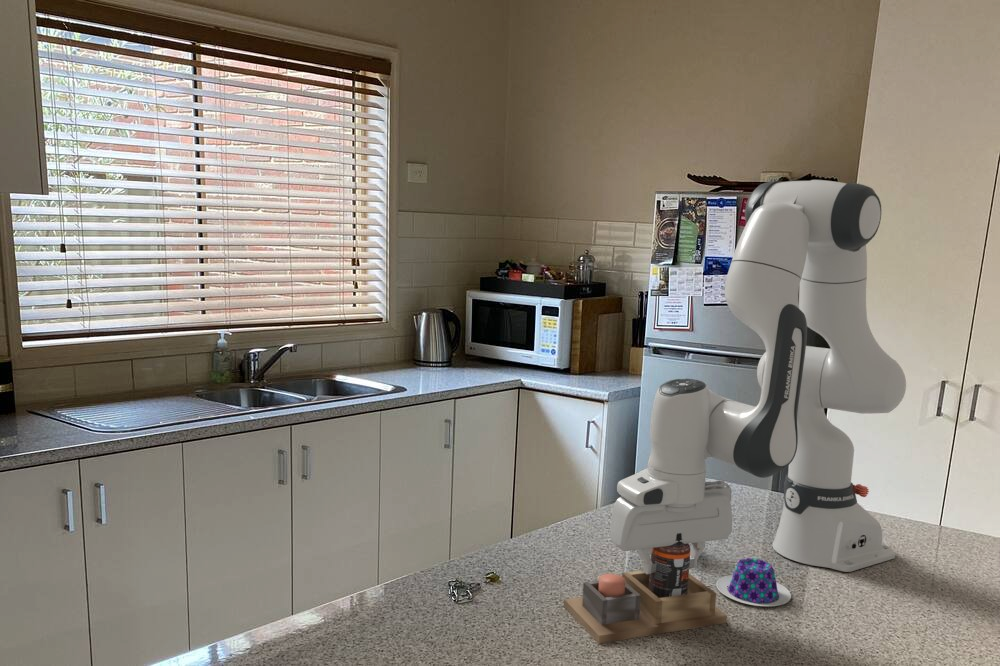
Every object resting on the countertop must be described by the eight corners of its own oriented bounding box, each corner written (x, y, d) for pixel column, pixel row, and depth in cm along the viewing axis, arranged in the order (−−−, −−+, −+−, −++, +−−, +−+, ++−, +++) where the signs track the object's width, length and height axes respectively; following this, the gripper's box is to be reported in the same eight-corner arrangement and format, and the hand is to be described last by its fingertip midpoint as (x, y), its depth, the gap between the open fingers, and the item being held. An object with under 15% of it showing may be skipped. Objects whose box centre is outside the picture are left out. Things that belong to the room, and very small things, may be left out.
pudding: (787, 617, 131) (789, 585, 130) (710, 600, 136) (712, 569, 135) (793, 587, 142) (796, 558, 141) (722, 573, 146) (724, 544, 146)
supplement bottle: (687, 608, 127) (692, 537, 125) (648, 603, 128) (652, 533, 126) (686, 592, 132) (691, 523, 131) (648, 587, 133) (653, 520, 132)
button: (616, 592, 129) (617, 572, 129) (629, 604, 125) (630, 583, 125) (593, 595, 128) (594, 575, 127) (605, 607, 124) (606, 586, 123)
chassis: (683, 589, 138) (685, 561, 138) (726, 622, 127) (728, 592, 127) (563, 606, 131) (565, 576, 130) (598, 643, 120) (600, 610, 119)
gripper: (719, 473, 134) (713, 554, 136) (607, 483, 127) (602, 569, 129) (744, 485, 128) (737, 570, 130) (628, 496, 121) (622, 586, 123)
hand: (669, 569), depth 129 cm, fingers closed on supplement bottle, 6 cm apart
